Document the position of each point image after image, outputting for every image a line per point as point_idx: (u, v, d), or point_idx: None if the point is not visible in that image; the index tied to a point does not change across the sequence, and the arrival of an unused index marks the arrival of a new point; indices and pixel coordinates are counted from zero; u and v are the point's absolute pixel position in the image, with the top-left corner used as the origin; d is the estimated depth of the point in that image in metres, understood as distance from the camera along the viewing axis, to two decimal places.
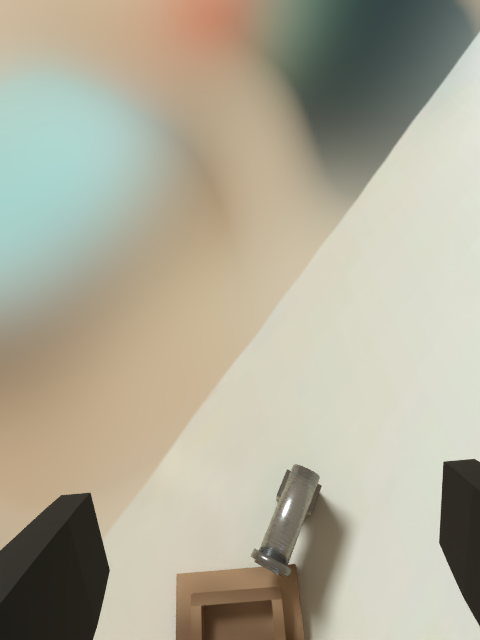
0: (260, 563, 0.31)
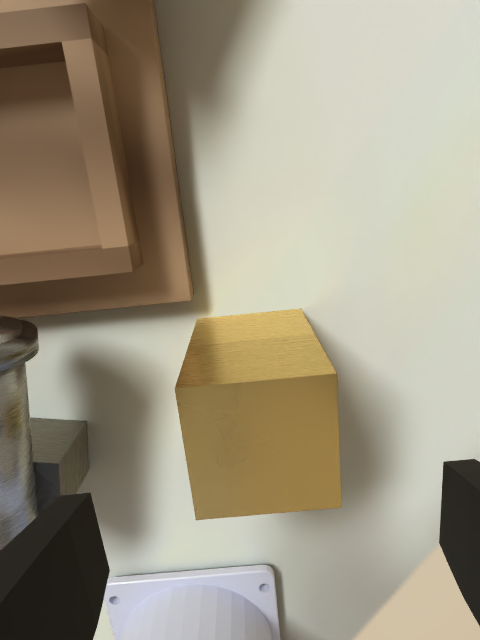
0: None
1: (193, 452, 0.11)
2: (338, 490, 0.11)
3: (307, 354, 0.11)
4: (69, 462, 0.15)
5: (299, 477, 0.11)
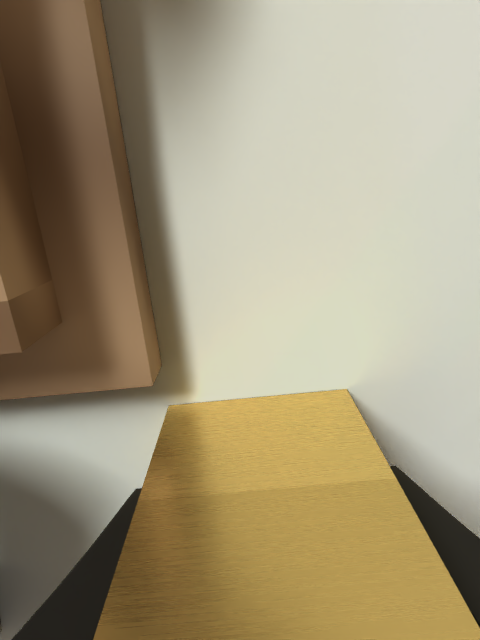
0: None
1: None
2: None
3: (403, 572, 0.05)
4: None
5: None
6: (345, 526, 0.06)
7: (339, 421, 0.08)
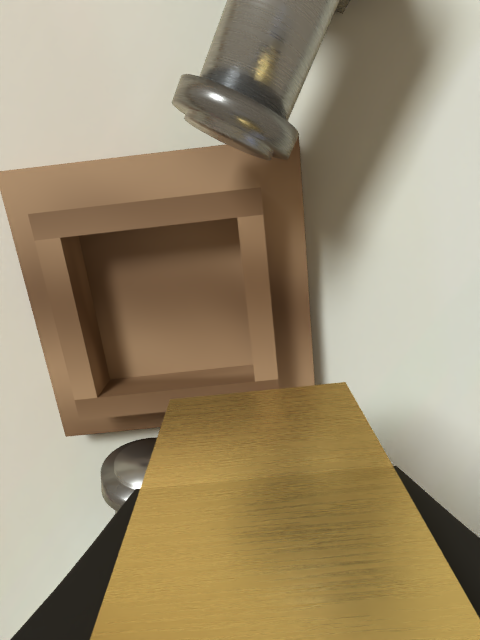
0: (201, 117, 0.10)
1: None
2: None
3: (398, 553, 0.05)
4: None
5: None
6: (342, 511, 0.06)
7: (337, 413, 0.08)
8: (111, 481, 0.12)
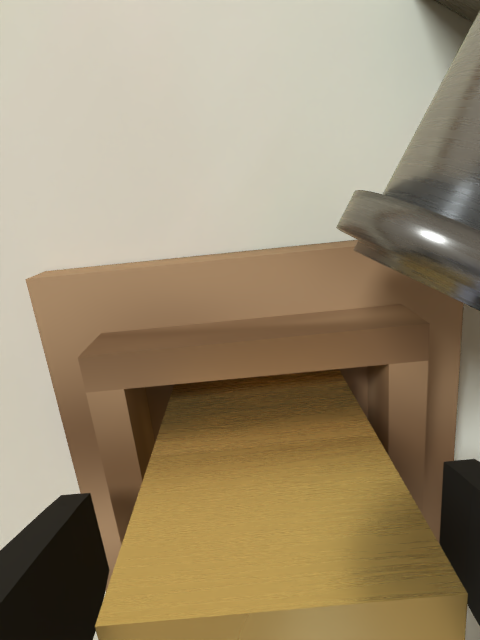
0: (413, 271, 0.05)
1: None
2: None
3: (377, 503, 0.06)
4: None
5: None
6: (330, 471, 0.06)
7: (329, 392, 0.09)
8: None
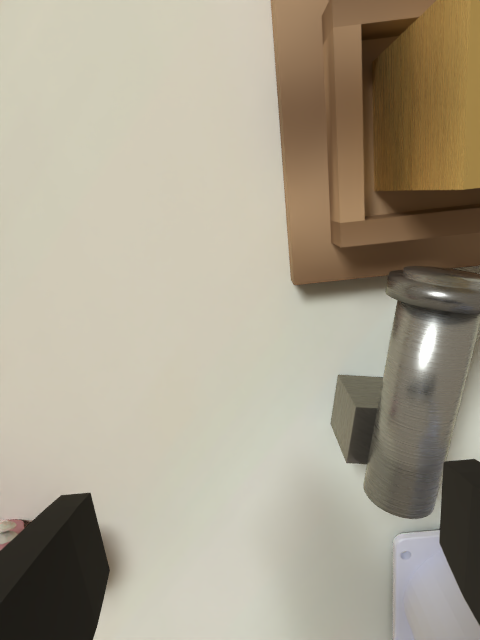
0: None
1: (478, 76, 0.08)
2: None
3: None
4: None
5: None
6: None
7: None
8: (421, 283, 0.12)
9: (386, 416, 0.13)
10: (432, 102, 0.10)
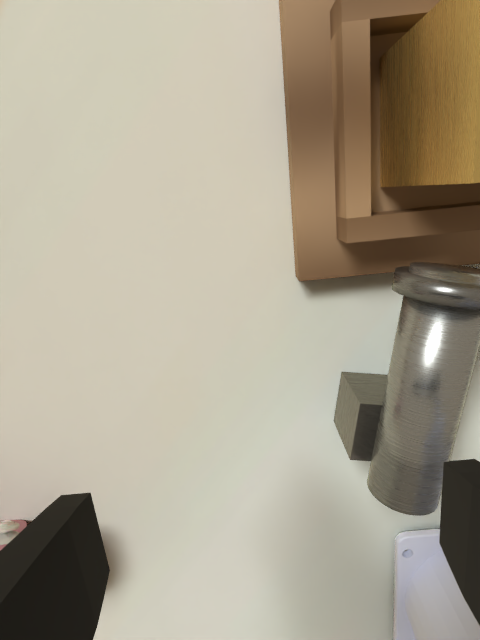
0: None
1: None
2: None
3: None
4: None
5: None
6: None
7: None
8: (428, 278, 0.12)
9: (391, 412, 0.13)
10: (442, 96, 0.10)
